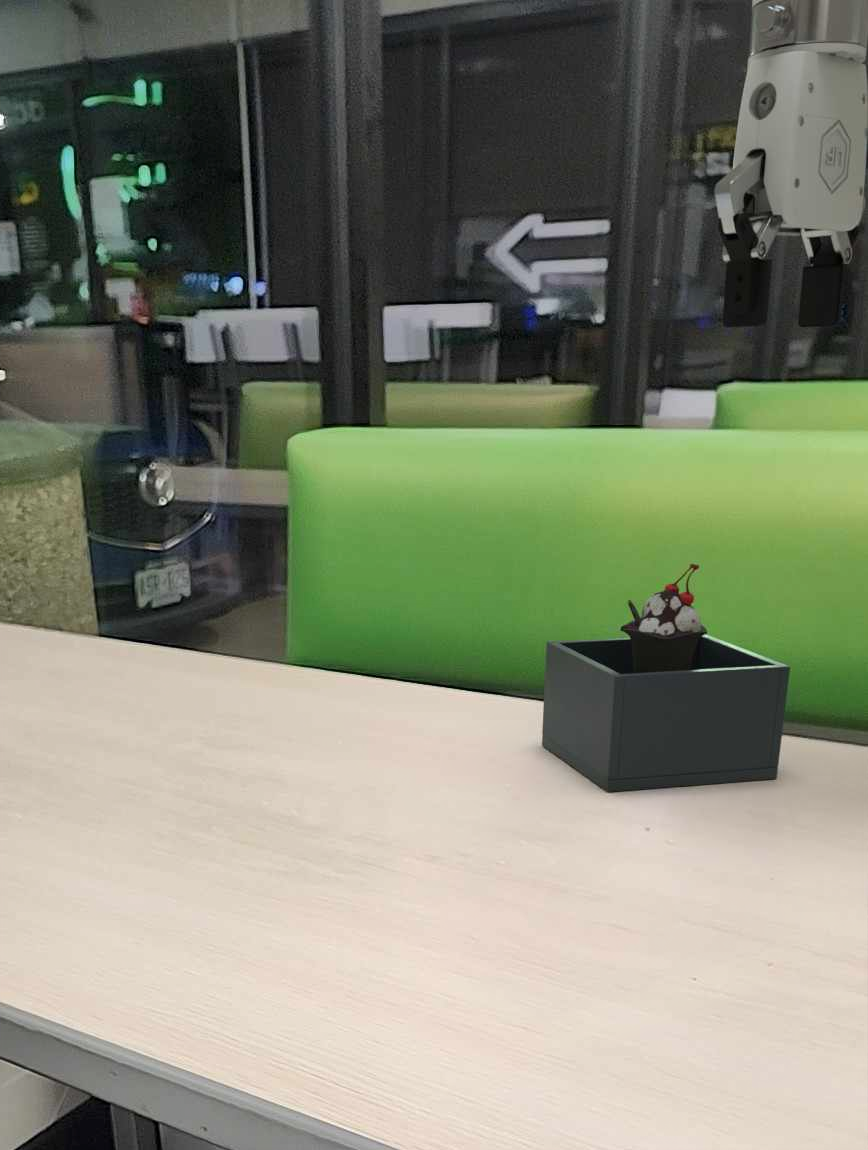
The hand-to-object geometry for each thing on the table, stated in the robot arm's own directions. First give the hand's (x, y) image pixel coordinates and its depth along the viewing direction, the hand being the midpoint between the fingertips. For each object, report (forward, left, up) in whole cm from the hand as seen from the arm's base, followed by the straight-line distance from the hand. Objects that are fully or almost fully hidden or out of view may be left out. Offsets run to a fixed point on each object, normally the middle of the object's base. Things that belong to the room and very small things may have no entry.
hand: (782, 326), depth 94 cm
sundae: (+5, -5, -32) cm, 33 cm away
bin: (+5, -5, -33) cm, 34 cm away
